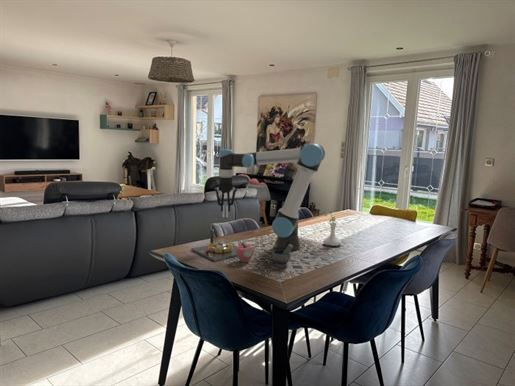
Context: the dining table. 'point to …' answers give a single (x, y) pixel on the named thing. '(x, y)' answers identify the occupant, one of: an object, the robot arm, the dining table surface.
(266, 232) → the dining table surface
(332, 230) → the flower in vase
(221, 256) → the gray square tray
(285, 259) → the mortar and pestle
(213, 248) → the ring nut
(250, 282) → the dining table surface
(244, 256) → the red apple
